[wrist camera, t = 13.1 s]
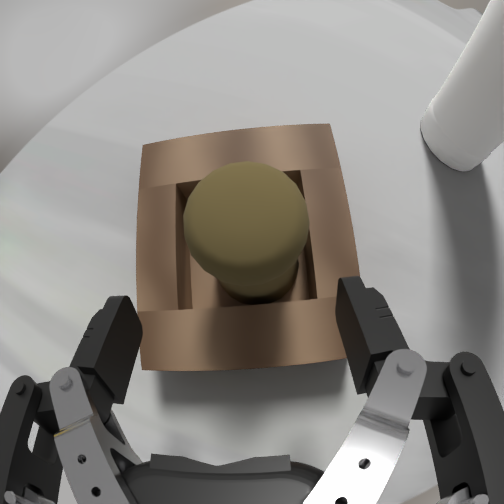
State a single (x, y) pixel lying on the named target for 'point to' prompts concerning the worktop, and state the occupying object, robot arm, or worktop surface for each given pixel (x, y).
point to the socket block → (208, 287)
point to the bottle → (471, 98)
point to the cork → (248, 230)
